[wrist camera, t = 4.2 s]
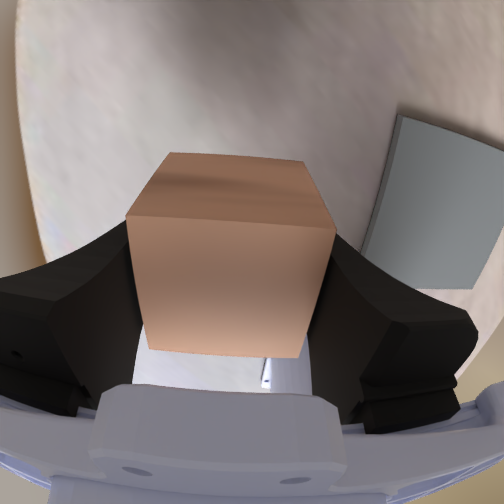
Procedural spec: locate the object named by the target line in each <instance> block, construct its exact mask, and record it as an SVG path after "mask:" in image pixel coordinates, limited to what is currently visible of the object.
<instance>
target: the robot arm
mask: <svg viewBox="0 0 504 504" xmlns="http://www.w3.org/2000/svg"><path fill="white" fill-rule="evenodd" d="M142 326H143V319H142V315H141V310H140V305H139V300H138V294H137V289H136V283H135V278H134V272H133V266H132V259H131V253H130V246H129V239H128V231H127V224H126V220H125V221H123V222H122V223H120V224H119V225H117V226H116V227H114V228H113V229H111V230H110V231H108V232H106V233H105V234H103V235H102V236H100V237H99V238H97V239H96V240H94V241H92V242H91V243H89V244H87V245H85V246H83V247H82V248H80V249H78V250H76V251H74V252H72V253H70V254H68V255H65V256H63V257H61V258H59V259H56V260H54V261H52V262H49V263H47V264H45V265H42V266H39V267H36V268H34V269H31V270H28V271H25V272H21V273H18V274H15V275H11V276H7V277H3V278H0V466H1V467H2V468H4V469H6V470H8V471H10V472H12V473H14V474H16V475H18V476H20V477H22V478H24V479H26V480H28V481H30V482H33V483H35V484H37V485H39V486H41V487H44V488H46V489H49V490H50V494H49V499H48V504H403V503H406V502H409V501H412V500H415V499H418V498H421V497H424V496H426V495H429V494H432V493H434V492H437V491H439V490H442V489H444V488H447V487H449V486H452V485H454V484H456V483H459V482H461V481H463V480H465V479H468V478H470V477H472V476H474V475H476V474H478V473H480V472H482V471H484V470H487V469H489V468H490V467H492V466H493V465H495V464H497V463H498V462H500V461H501V460H503V459H504V381H501V382H498V383H495V384H492V385H490V386H489V387H487V388H486V389H484V390H483V391H482V392H481V393H480V394H479V395H478V396H477V397H476V399H475V400H473V401H470V402H466V403H462V404H459V402H458V400H457V397H456V395H455V393H454V390H453V388H455V387H456V386H457V380H456V378H455V376H454V374H455V373H456V372H457V371H458V369H459V368H460V367H461V366H462V365H463V363H464V362H465V361H466V360H467V358H468V357H469V356H470V354H471V353H472V351H473V350H474V348H475V346H476V343H477V340H478V330H477V329H476V327H475V325H474V323H473V321H472V320H471V318H470V316H469V315H468V313H467V311H466V310H463V309H461V308H458V307H455V306H452V305H450V304H447V303H444V302H442V301H439V300H437V299H434V298H432V297H430V296H428V295H426V294H423V293H421V292H419V291H417V290H415V289H413V288H411V287H410V286H408V285H406V284H404V283H403V282H401V281H399V280H397V279H396V278H394V277H392V276H391V275H389V274H387V273H386V272H385V271H383V270H382V269H380V268H379V267H377V266H376V265H374V264H373V263H371V262H370V261H369V260H367V259H366V258H365V257H364V256H362V255H361V254H360V253H359V252H357V251H356V250H355V249H354V248H353V247H351V246H350V245H349V244H348V243H347V242H346V241H344V240H343V239H342V238H341V237H340V236H339V235H338V234H337V233H336V235H335V238H334V242H333V246H332V250H331V253H330V257H329V260H328V264H327V268H326V271H325V275H324V278H323V281H322V285H321V288H320V291H319V295H318V298H317V301H316V305H315V308H314V311H313V314H312V317H311V321H310V324H309V327H308V330H307V333H306V336H305V339H304V342H303V345H302V348H301V351H300V354H299V357H298V358H266V362H265V367H264V371H263V375H262V380H261V387H263V388H270V391H271V393H246V392H224V391H208V390H196V389H185V388H175V387H166V386H158V385H150V384H132V379H133V372H134V366H135V360H136V354H137V349H138V344H139V339H140V334H141V330H142Z"/></svg>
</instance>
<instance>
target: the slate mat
mask: <svg viewBox="0 0 504 504" xmlns="http://www.w3.org/2000/svg"><path fill="white" fill-rule="evenodd" d="M503 226H504V151H503V150H500V149H498V148H496V147H493V146H491V145H488V144H486V143H483V142H481V141H478V140H476V139H473V138H470V137H468V136H465V135H462V134H459V133H457V132H454V131H451V130H448V129H445V128H442V127H439V126H436V125H433V124H430V123H426V122H423V121H420V120H416V119H413V118H409V117H406V116H402V115H397V120H396V125H395V129H394V134H393V138H392V143H391V147H390V151H389V155H388V159H387V163H386V167H385V171H384V175H383V179H382V183H381V186H380V190H379V194H378V197H377V201H376V204H375V208H374V211H373V215H372V218H371V221H370V225H369V228H368V231H367V234H366V237H365V241H364V244H363V247H362V250H361V253H360V254H361V255H362V256H364V257H365V258H366V259H367V260H369V261H370V262H371V263H373V264H374V265H376V266H377V267H379V268H380V269H382V270H383V271H385V272H386V273H387V274H389V275H391V276H392V277H394V278H396V279H397V280H399V281H401V282H403V283H404V284H406V285H408V286H410V287H411V288H413V289H473V287H474V285H475V283H476V281H477V279H478V278H479V276H480V274H481V272H482V270H483V268H484V266H485V264H486V262H487V260H488V258H489V256H490V254H491V252H492V250H493V248H494V246H495V244H496V242H497V239H498V237H499V235H500V233H501V230H502V228H503Z"/></svg>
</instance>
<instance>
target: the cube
mask: <svg viewBox="0 0 504 504" xmlns="http://www.w3.org/2000/svg"><path fill="white" fill-rule="evenodd" d="M126 224H127V231H128V239H129V246H130V253H131V259H132V266H133V272H134V278H135V283H136V289H137V294H138V300H139V305H140V310H141V315H142V319H143V324H144V329H145V333H146V338H147V342H148V346H149V349H153V350H161V351H171V352H181V353H192V354H205V355H219V356H237V357H262V358H298V357H299V354H300V351H301V348H302V345H303V342H304V339H305V336H306V333H307V330H308V327H309V324H310V321H311V317H312V314H313V311H314V308H315V305H316V301H317V298H318V295H319V291H320V288H321V285H322V281H323V278H324V275H325V271H326V268H327V264H328V260H329V257H330V253H331V250H332V246H333V242H334V238H335V235H336V231H337V229H336V226H335V224H334V222H333V220H332V218H331V216H330V214H329V212H328V210H327V208H326V206H325V204H324V202H323V200H322V198H321V196H320V194H319V192H318V190H317V188H316V186H315V184H314V182H313V180H312V178H311V176H310V174H309V172H308V170H307V168H306V166H305V164H304V162H301V161H292V160H283V159H273V158H262V157H250V156H236V155H221V154H201V153H173V152H170V153H169V154H168V155H167V157H166V158H165V159H164V161H163V162H162V163H161V165H160V166H159V167H158V169H157V170H156V172H155V173H154V174H153V176H152V177H151V179H150V180H149V181H148V183H147V184H146V186H145V187H144V189H143V190H142V191H141V193H140V194H139V196H138V197H137V199H136V200H135V202H134V203H133V205H132V206H131V208H130V209H129V211H128V212H127V214H126Z"/></svg>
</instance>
